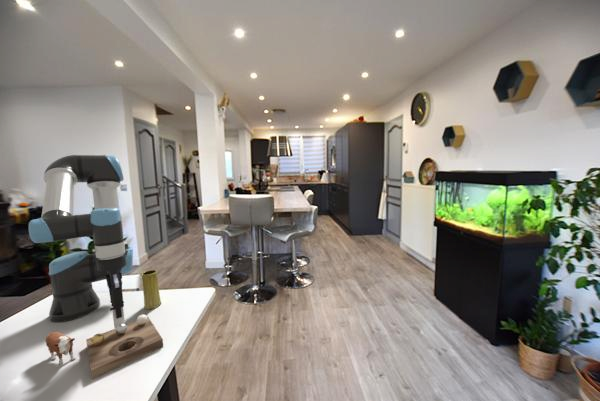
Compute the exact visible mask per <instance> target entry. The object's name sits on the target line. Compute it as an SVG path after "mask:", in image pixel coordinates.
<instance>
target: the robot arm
mask: <svg viewBox="0 0 600 401" xmlns="http://www.w3.org/2000/svg"><path fill="white" fill-rule="evenodd" d="M123 174H124V173H123V170H122V165H121V163H120V161H119V158H118V157H117V156H115V155H106V154H101V155H94V154H93V155H91V154H89V155H88V154H85V155H81V154H79V155H78V154H71V155H70V154H69V155H66V156H63V157H60V158H58V159H56V160H54V161H53V162H52V163H50V164H49V165H48V166H47V167H46V169H45V171H44V173H43V180H44V183H45V184H46V185H45V192H44V197H43V198H44V199H43V203H42V204H43V205H42V210H41V211H42V212H41V217H38V218H36V219H35V218H34V219H31V220H30V221H29V222H28V234H29V238H30V240H31V242H33V243H35V244H40V243H41V244H42V243H53V242H58V241H59V242H60V241H64V240H71V239H79V238H85V237H93V245H94V248H93V249H91V250H92V252H93V253H89V252H88V250H86V251H85V250H83V251H75V252H71V253H68V254H66V255H61V256H60V257H57V258H55V259H53V260H52V261H51V262H50V263H49V265H48V269H49V271H48V272H49V273H48V275H49V278H50V284H51V291H52V292H51V293H52V301H51V302H52V303H51V306H50V310H49V314H48V316H49V320H50V322H53V323H62V322H68V321H72V320H76V319H78V318H82V317H85V316H87V315H89V314H91V313H92V312H94V311H96V310H98V309H99V307H100V306H101V300H100V298H99V296H98V294H97V293H96V291H95V290H94V287H93V283H95V282H99V281H100V282H101V281H104V280H106V285H107V288H108V292H109V298H110V300H109V302H110V306H111V307H110V308H109V310H110V312H112V319H113V326H114V329H115V328H116V327H117V326H118V325H119V324H126V322H125V321H126V320H125V314H124V306H125V302H124V297H123V281H122V280H123V279H122V278H123V276H125V275H128V274H130V273H131V272H132V270H133V263H134V262H133V260H134V256H133V255H134V252H133V248H134V247H132V246H129V243H128V242H127V241H125V240H124V231H123V230H124V229H123V221H122V215H121V209H120V204H119V195H118V188H119V187H120V186H121V182H123V181H124V175H123ZM77 183H86V186H87V187H88V188H89V189H91V191H92V198H93V206H94V207H93V208H94V209H92V210H91V211H90V213H84V214H74V197H75V194H74V193H75V185H76V184H77Z"/></svg>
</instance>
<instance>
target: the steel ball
mask: <svg viewBox="0 0 600 401" xmlns="http://www.w3.org/2000/svg"><path fill="white" fill-rule="evenodd" d="M114 329H115V333H116V334H118V335H121V334H123V333H125V332H126V330H127V325H126V323H125V324H119V325H118V326H117V327H116V328H115V327H114Z"/></svg>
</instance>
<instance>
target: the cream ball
mask: <svg viewBox="0 0 600 401" xmlns="http://www.w3.org/2000/svg"><path fill="white" fill-rule="evenodd" d="M147 317H148V316H147V315H146V314H140V315H138V316H137V318H136V320H135V321H136V322H137V324H139V325H143V324H145V323H146V322H147Z"/></svg>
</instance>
